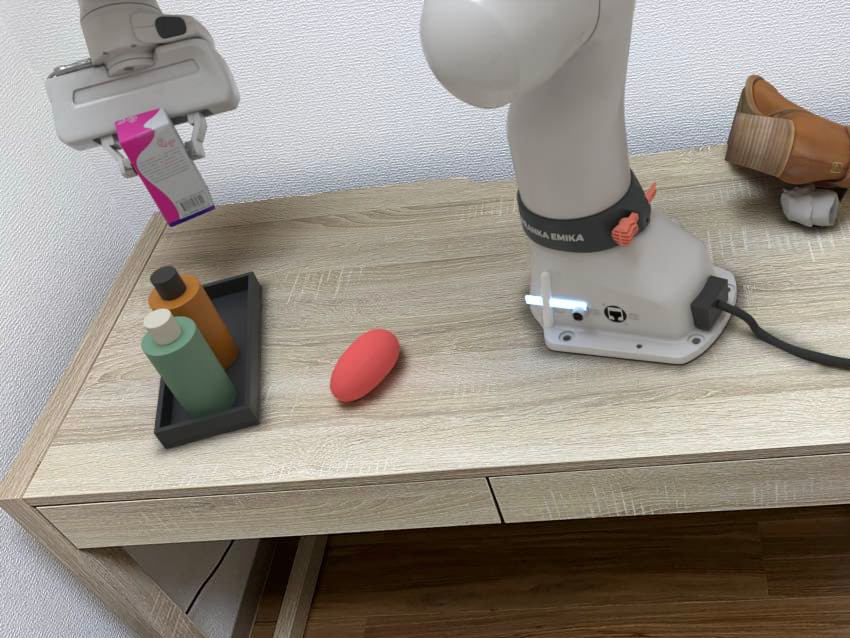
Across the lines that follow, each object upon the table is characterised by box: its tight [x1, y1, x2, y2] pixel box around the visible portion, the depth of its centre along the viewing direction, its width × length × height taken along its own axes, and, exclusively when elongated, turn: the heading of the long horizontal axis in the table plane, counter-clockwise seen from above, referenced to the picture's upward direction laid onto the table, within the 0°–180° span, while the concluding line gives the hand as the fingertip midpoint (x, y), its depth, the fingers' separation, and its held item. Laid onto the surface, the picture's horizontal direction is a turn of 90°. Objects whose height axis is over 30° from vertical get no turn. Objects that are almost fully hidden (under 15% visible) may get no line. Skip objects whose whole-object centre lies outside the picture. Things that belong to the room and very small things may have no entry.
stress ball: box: [329, 328, 401, 403], centre depth 95 cm, size 5×9×6 cm
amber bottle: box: [147, 265, 239, 370], centre depth 98 cm, size 6×6×12 cm
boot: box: [724, 73, 850, 189], centre depth 105 cm, size 9×24×19 cm
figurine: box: [780, 183, 841, 228], centre depth 101 cm, size 4×8×5 cm
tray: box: [153, 270, 263, 450], centre depth 102 cm, size 23×10×3 cm, turn 12°
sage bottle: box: [140, 309, 237, 419], centre depth 93 cm, size 6×6×12 cm
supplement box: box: [115, 108, 216, 228], centre depth 104 cm, size 6×6×12 cm
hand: (164, 166), depth 103 cm, fingers closed on supplement box, 6 cm apart
